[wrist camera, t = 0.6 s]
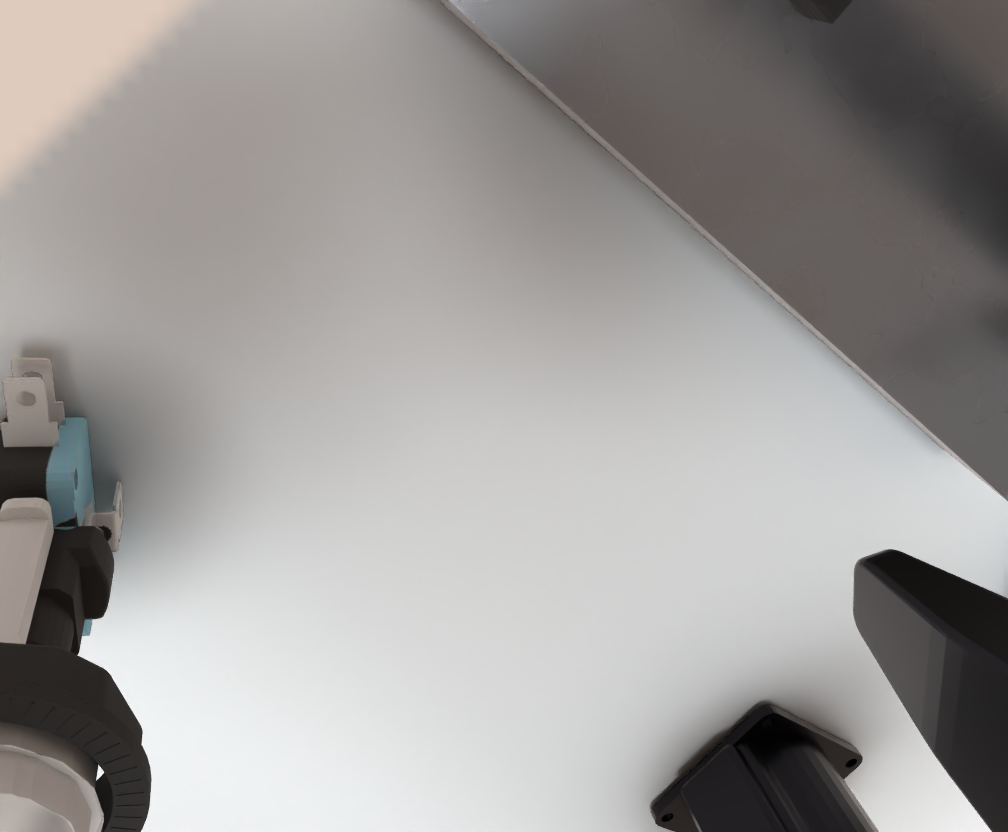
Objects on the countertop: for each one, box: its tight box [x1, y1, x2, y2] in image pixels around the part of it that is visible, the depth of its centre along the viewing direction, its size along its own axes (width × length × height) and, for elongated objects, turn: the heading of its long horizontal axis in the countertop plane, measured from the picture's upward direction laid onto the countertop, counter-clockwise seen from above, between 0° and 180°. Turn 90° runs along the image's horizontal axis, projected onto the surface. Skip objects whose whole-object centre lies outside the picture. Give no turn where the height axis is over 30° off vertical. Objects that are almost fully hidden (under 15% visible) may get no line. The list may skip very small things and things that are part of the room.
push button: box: [0, 358, 151, 832], centre depth 18 cm, size 7×5×10 cm
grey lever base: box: [439, 0, 1008, 501], centre depth 20 cm, size 22×12×6 cm, turn 49°
